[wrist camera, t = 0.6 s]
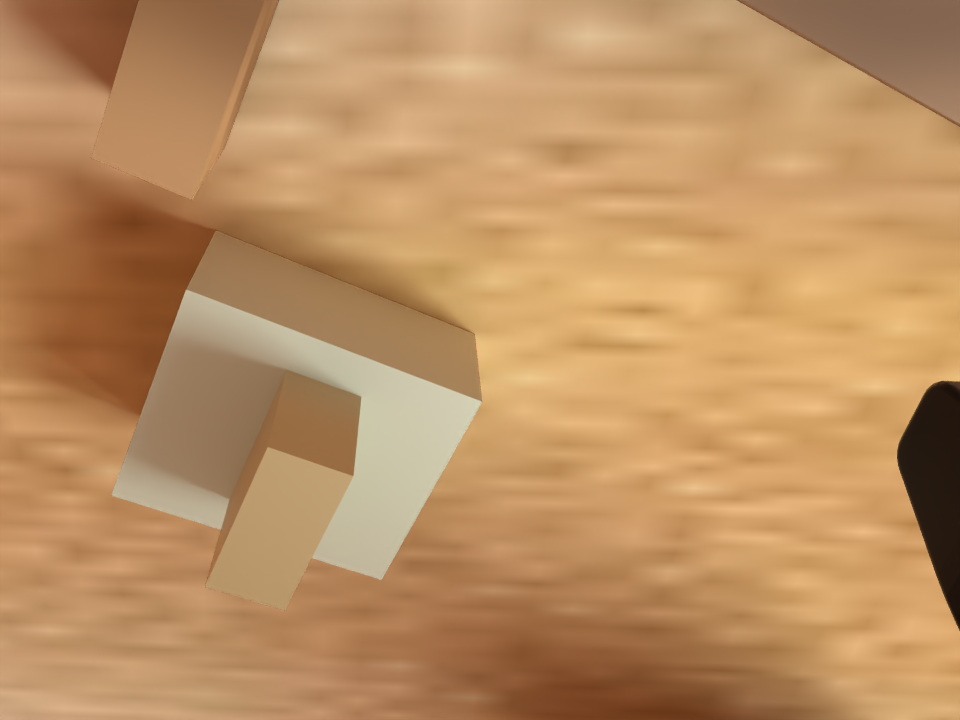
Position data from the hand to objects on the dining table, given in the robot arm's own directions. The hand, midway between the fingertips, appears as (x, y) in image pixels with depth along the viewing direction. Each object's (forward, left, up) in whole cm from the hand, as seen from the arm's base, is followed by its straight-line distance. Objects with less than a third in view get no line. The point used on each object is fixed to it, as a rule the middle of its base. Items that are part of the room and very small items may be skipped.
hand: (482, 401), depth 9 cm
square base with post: (-9, 0, -14) cm, 17 cm away
